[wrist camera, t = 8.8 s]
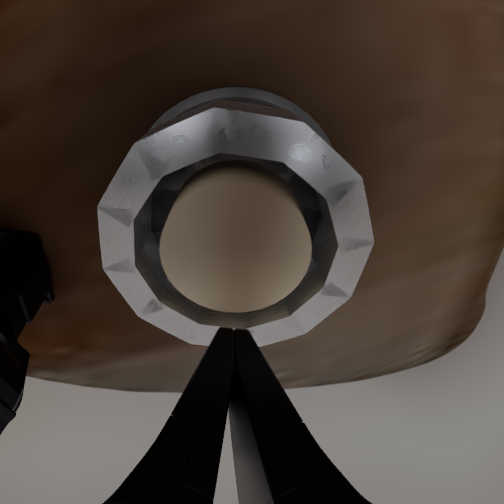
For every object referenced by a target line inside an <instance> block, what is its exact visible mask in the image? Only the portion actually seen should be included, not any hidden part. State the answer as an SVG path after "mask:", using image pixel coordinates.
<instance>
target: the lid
mask: <svg viewBox="0 0 504 504" xmlns="http://www.w3.org/2000/svg"><path fill="white" fill-rule="evenodd" d="M159 249H160V259H161V263H162V266H163V269H164V271H165V273H166V275H167V277H168V279H169V280H170V282H171V283H172V284H173V286H174V287H175V288H176V289H177V290H178V291H179V292H180V293H182V294H183V295H184V296H185V297H187V298H188V299H190V300H191V301H193V302H195V303H197V304H199V305H201V306H204V307H206V308H209V309H213V310H217V311H222V312H234V313H237V312H249V311H255V310H259V309H262V308H265V307H268V306H270V305H272V304H275V303H277V302H278V301H280V300H282V299H283V298H285V297H286V296H287V295H289V294H290V293H291V292H292V291H293V290H294V289H295V288H296V287H297V286H298V285H299V283H300V282H301V281H302V279H303V278H304V276H305V274H306V272H307V270H308V267H309V264H310V260H311V253H312V244H311V237H310V233H309V230H308V228H307V225H306V223H305V220H304V217H303V215H302V212H301V210H300V207H299V205H298V202H297V200H296V197H295V195H294V193H293V191H292V189H291V188H290V186H289V185H288V184H287V182H286V181H285V180H284V179H283V178H282V177H281V176H280V175H279V174H277V173H276V172H274V171H273V170H272V169H270V168H268V167H266V166H264V165H261V164H258V163H256V162H251V161H247V160H226V161H220V162H216V163H213V164H210V165H208V166H206V167H204V168H202V169H200V170H199V171H197V172H196V173H194V174H193V175H192V176H191V177H190V178H189V179H188V180H187V181H186V182H185V183H184V184H183V186H182V187H181V189H180V191H179V192H178V195H177V197H176V199H175V201H174V204H173V206H172V208H171V211H170V213H169V216H168V218H167V221H166V223H165V226H164V228H163V231H162V234H161V238H160V247H159Z"/></svg>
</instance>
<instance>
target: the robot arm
mask: <svg viewBox="0 0 504 504" xmlns="http://www.w3.org/2000/svg"><path fill="white" fill-rule="evenodd" d="M33 240H34V241H35V242H34V241H33ZM53 299H54V296H53V293H52V289H51V285H50V281H49V277H48V273H47V269H46V264H45V261H44V256H43V252H42V247H41V242H40V238H39V237H38V236H37V235H36V234H32V233H25V232H18V231H11V230H3V229H0V435H1V433H2V431H3V430H4V428H5V427H6V426H7V424H8V423H9V422H10V421H11V420H12V419H13V418H14V417H15V416H16V413H15V412H16V411H17V409H18V407H19V406H20V403H21V400H22V396H23V389H24V384H25V378H26V372H27V367H28V361H29V356H30V354H29V353H28V351H27V350H26V349H23V347H22V346H21V345H20V344H19V343H18V342H17V341H16V340H17V339H18V337H19V335H20V333H21V332H22V330H23V328H24V326H25V324H26V323H28V324H30V322H31V321H32V320H33V318H34V316H35V315H36V313H37V311H38V309H39V308H40V306H41V304H42V303H48V304H51V303H52V301H53ZM228 409H229V420H230V429H231V440H232V448H233V457H234V466H235V476H236V484H237V492H238V500H239V504H372V503H371V502H369V501H368V500H366V499H365V498H364V497H363V496H362V495H360V493H359V492H358V491H357V490H356V489H355V488H354V487H353V486H352V485H351V484H350V482H349V481H348V480H347V479H346V478H345V477H344V476H343V474H342V473H341V472H340V471H339V470H338V469H337V468H336V466H335V465H334V464H333V463H332V462H331V460H330V459H329V458H328V457H327V455H326V454H325V453H324V452H323V450H322V449H321V448H320V447H319V445H318V444H317V442H316V440H315V439H314V438H313V436H312V435H311V433H310V432H309V430H308V428H307V427H306V425H305V423H302V419H301V417H300V416H299V414H298V412H297V411H296V409H295V407H294V406H293V404H292V403H291V401H290V399H289V398H288V396H287V394H286V393H285V391H284V389H283V388H282V386H281V384H280V383H279V381H278V379H277V378H276V376H275V374H274V373H273V371H272V369H271V367H270V366H269V364H268V362H267V361H266V359H265V357H264V356H263V354H262V352H261V350H260V349H259V347H258V345H257V343H256V342H255V340H254V338H253V337H252V335H251V333H250V331H249V330H247V329H238V328H236V329H234V330H233V328H228V327H219V328H218V330H217V332H216V334H215V336H214V337H213V339H212V341H211V343H210V345H209V346H208V348H207V350H206V352H205V354H204V356H203V357H202V359H201V361H200V363H199V365H198V366H197V368H196V370H195V372H194V374H193V375H192V377H191V379H190V381H189V383H188V385H187V386H186V388H185V390H184V392H183V394H182V395H181V397H180V399H179V401H178V403H177V404H176V406H175V408H174V410H173V412H172V413H171V416H170V417H169V419H168V420H167V422H166V424H165V426H164V427H163V429H162V431H161V432H160V434H159V435H158V437H157V439H156V440H155V442H154V443H153V445H152V446H151V447H150V449H149V450H148V452H147V453H146V454H145V456H144V457H143V458H142V459H141V461H140V462H139V463H138V464H137V466H136V467H135V468H134V469H133V471H132V472H131V473H130V474H129V476H128V477H127V478H126V479H125V481H124V482H123V483H122V484H121V486H120V487H119V488H118V489H117V490H116V491H115V492H114V493H113V494H112V495H111V496H110V497H109V498H108V499H107V500H106V501H105V502H104V503H103V504H213V499H214V494H215V488H216V482H217V475H218V468H219V463H220V457H221V450H222V444H223V438H224V430H225V425H226V418H227V412H228Z"/></svg>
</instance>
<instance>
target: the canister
mask: <svg viewBox="0 0 504 504" xmlns="http://www.w3.org/2000/svg"><path fill="white" fill-rule="evenodd" d="M226 160H247V161H251V162H256V163H258V164H261V165H264V166H266V167H268V168H270V169H272V170H273V171H274V172H276V173H277V174H279V175H280V176H281V177H282V178H283V179H284V180H285V181H286V182H287V184H288V185H289V186H290V188H291V189H292V191H293V193H294V195H295V197H296V200H297V202H298V205H299V207H300V210H301V212H302V215H303V217H304V220H305V223H306V225H307V228H308V230H309V233H310V237H311V244H312V253H311V260H310V264H309V267H308V270H307V272H306V274H305V276H304V278H303V279H302V281H301V282H300V283H299V285H298V286H297V287H296V288H295V289H294V290H293V291H292V292H291V293H290V294H289V295H287V296H286V297H285V298H283V299H282V300H280V301H278V302H277V303H275V304H272V305H270V306H268V307H265V308H262V309H259V310H255V311H249V312H237V313H234V312H222V311H217V310H213V309H209V308H206V307H204V306H201V305H199V304H197V303H195V302H193V301H191V300H190V299H188V298H187V297H185V296H184V295H183V294H182V293H180V292H179V291H178V290H177V289H176V288H175V287H174V286H173V284H172V283H171V282H170V280H169V279H168V277H167V275H166V273H165V271H164V269H163V266H162V263H161V259H160V249H159V247H160V238H161V234H162V231H163V228H164V226H165V223H166V221H167V218H168V216H169V213H170V211H171V208H172V206H173V204H174V201H175V199H176V197H177V195H178V192H179V191H180V189H181V187H182V186H183V184H184V183H185V182H186V181H187V180H188V179H189V178H190V177H191V176H192V175H193V174H194V173H196V172H197V171H199V170H200V169H202V168H204V167H206V166H208V165H210V164H213V163H216V162H220V161H226ZM97 211H98V225H99V236H100V247H101V256H102V265H103V270H104V271H105V273H106V274H107V275H108V277H109V278H110V280H111V281H112V282H113V284H114V285H115V286H116V288H117V289H118V291H119V292H120V293H121V295H122V296H123V297H124V299H125V300H126V301H127V303H128V304H129V305H130V306H131V308H132V309H133V310H134V312H135V313H136V314H137V316H138V317H140V318H142V319H144V320H146V321H147V322H149V323H151V324H153V325H155V326H157V327H159V328H160V329H162V330H164V331H166V332H168V333H170V334H172V335H174V336H176V337H178V338H180V339H182V340H184V341H186V342H188V343H190V344H197V345H205V346H209V345H210V343H211V341H212V339H213V337H214V336H215V334H216V332H217V330H218V328H219V327H228V328H233V330H234V329H236V328H238V329H247V330H249V331H250V333H251V335H252V337H253V338H254V340H255V342H256V343H257V345H258V347H261V346H264V345H268V344H272V343H275V342H279V341H282V340H286V339H289V338H293V337H296V336H300V335H303V334H306V333H307V332H308V331H310V330H311V329H312V328H313V327H315V326H316V325H317V324H319V323H320V322H321V321H322V320H324V319H325V318H326V317H327V316H329V315H330V314H331V313H332V312H334V311H335V310H336V309H337V308H338V307H340V306H341V305H342V304H343V303H345V302H346V301H347V300H348V299H349V298H351V296H352V294H353V291H354V289H355V287H356V285H357V282H358V280H359V278H360V275H361V273H362V271H363V269H364V266H365V264H366V261H367V259H368V257H369V254H370V252H371V249H372V247H373V244H374V238H373V232H372V226H371V220H370V215H369V209H368V204H367V199H366V194H365V189H364V184H363V179H362V176H361V175H360V174H359V173H358V172H357V171H356V170H355V169H354V168H353V167H352V166H351V165H350V164H349V163H348V162H346V161H345V160H344V159H343V158H342V157H341V156H340V155H339V154H338V153H337V152H336V151H335V150H334V148H333V146H332V145H331V143H330V141H329V139H328V137H327V135H326V134H325V133H324V131H323V130H322V128H321V127H320V126H319V124H318V123H317V122H316V121H315V120H314V119H313V118H312V117H311V116H310V115H309V114H308V113H306V112H305V111H304V110H302V109H301V108H300V107H299V106H297V105H296V104H294V103H293V102H291V101H289V100H287V99H285V98H284V97H282V96H280V95H277V94H274V93H272V92H269V91H266V90H262V89H257V88H253V87H242V86H231V87H220V88H215V89H210V90H206V91H203V92H201V93H198V94H195V95H193V96H191V97H189V98H187V99H185V100H183V101H181V102H179V103H178V104H176V105H175V106H174V107H172V108H171V109H169V110H168V111H167V112H165V113H164V114H163V115H162V116H161V117H160V118H159V119H158V120H157V121H156V122H155V123H154V124H153V126H152V127H151V128H150V129H149V131H148V132H147V133H146V134H145V135H144V136H143V137H141V138H140V139H139V140H138V141H136V142H135V143H134V145H133V146H132V148H131V149H130V151H129V152H128V154H127V156H126V157H125V159H124V161H123V162H122V164H121V166H120V167H119V169H118V171H117V172H116V174H115V176H114V177H113V179H112V181H111V183H110V184H109V186H108V188H107V190H106V192H105V193H104V195H103V197H102V199H101V201H100V203H99V204H98V206H97Z"/></svg>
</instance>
